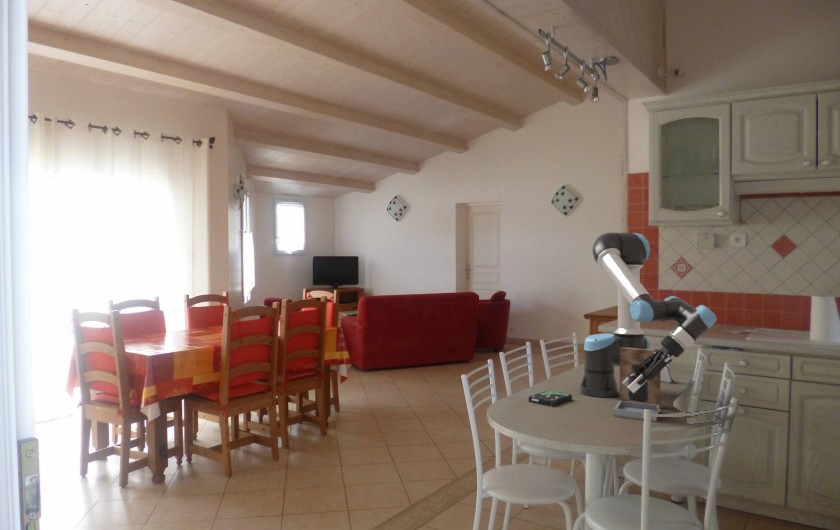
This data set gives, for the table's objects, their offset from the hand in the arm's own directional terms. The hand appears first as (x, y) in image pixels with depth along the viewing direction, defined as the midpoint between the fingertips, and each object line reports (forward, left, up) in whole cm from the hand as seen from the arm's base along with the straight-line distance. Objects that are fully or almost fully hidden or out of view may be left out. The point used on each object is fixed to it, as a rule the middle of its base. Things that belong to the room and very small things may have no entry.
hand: (627, 387), depth 212 cm
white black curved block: (+2, +67, -10) cm, 68 cm away
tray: (+3, +2, -9) cm, 10 cm away
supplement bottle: (+3, +1, -4) cm, 6 cm away
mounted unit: (+2, +16, -9) cm, 18 cm away
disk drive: (-29, +6, -10) cm, 31 cm away
